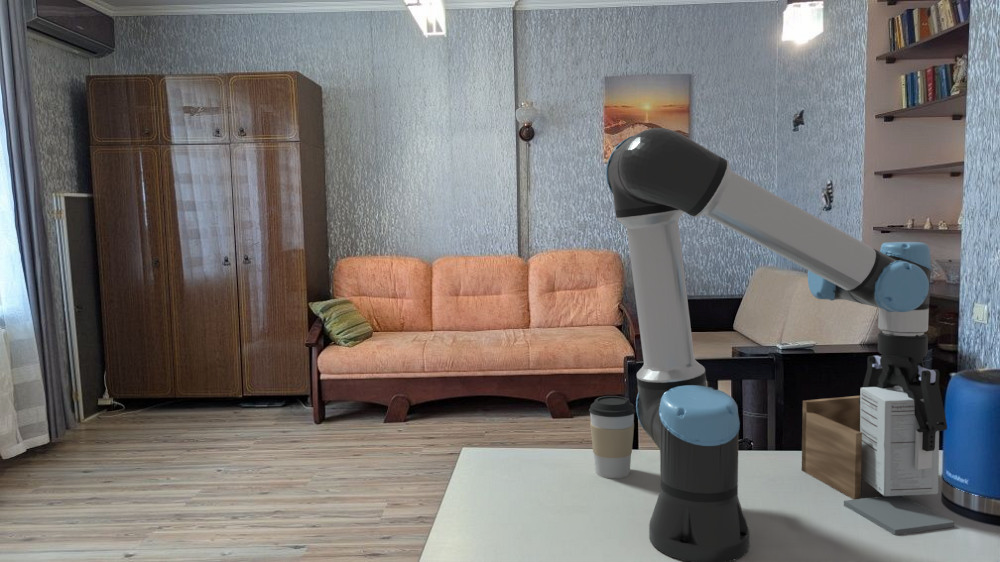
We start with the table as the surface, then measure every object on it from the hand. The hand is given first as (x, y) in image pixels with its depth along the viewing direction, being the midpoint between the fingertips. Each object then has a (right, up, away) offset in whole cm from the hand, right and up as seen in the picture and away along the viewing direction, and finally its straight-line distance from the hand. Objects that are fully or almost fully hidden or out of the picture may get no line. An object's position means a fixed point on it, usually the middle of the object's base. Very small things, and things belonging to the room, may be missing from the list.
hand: (898, 457), depth 127 cm
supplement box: (0, -5, +1) cm, 5 cm away
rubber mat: (-3, -8, -6) cm, 11 cm away
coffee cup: (-47, -7, +18) cm, 51 cm away
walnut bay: (-2, -7, +10) cm, 12 cm away
